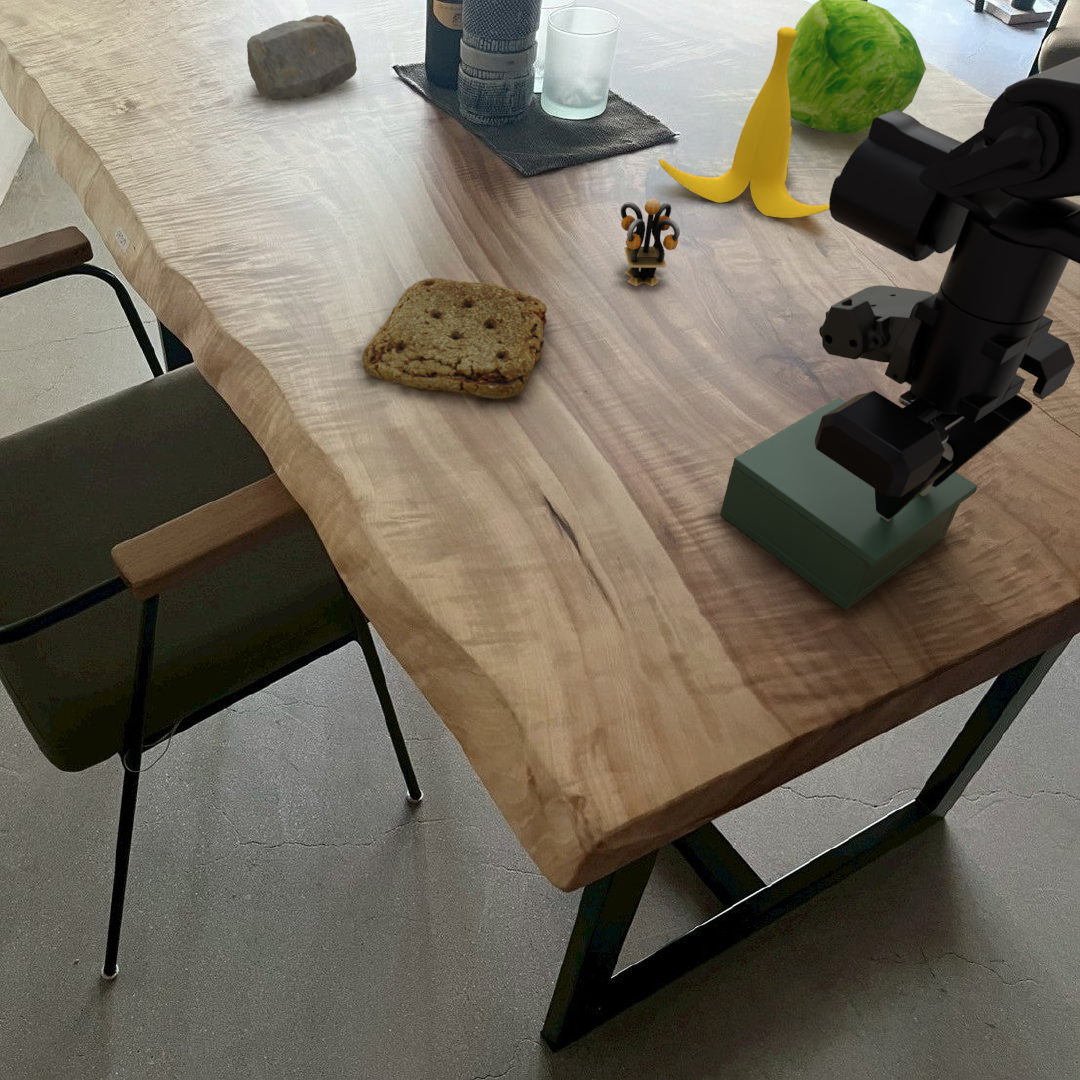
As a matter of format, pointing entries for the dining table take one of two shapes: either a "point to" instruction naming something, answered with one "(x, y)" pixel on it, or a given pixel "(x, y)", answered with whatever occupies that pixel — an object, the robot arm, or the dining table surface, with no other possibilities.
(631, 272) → the figurine
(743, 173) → the banana peel
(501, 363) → the pastry
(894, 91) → the lettuce
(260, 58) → the stone
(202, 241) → the dining table surface
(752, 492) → the chest
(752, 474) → the lid
